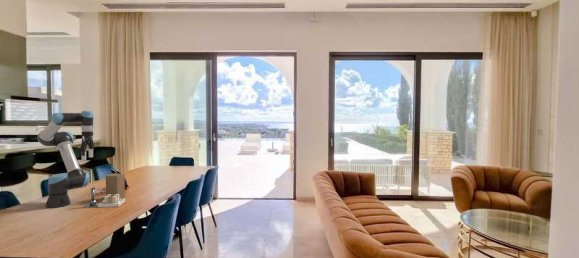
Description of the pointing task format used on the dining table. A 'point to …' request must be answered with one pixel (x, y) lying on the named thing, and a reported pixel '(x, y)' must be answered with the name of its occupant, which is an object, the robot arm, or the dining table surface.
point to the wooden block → (115, 184)
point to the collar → (111, 199)
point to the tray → (111, 204)
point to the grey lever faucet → (92, 200)
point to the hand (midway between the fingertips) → (87, 158)
